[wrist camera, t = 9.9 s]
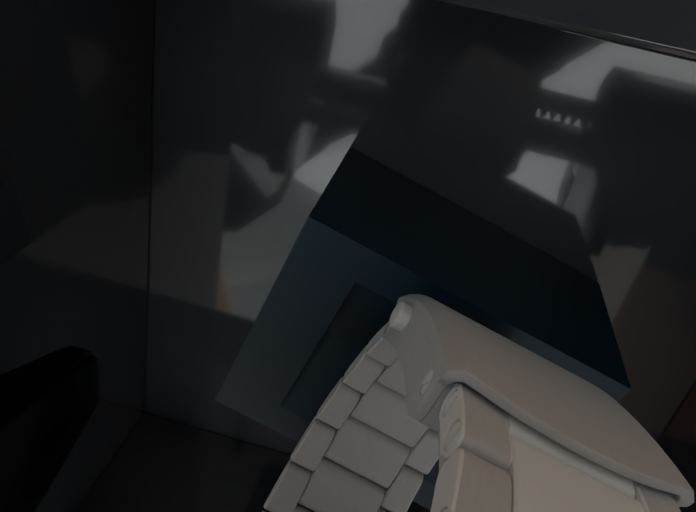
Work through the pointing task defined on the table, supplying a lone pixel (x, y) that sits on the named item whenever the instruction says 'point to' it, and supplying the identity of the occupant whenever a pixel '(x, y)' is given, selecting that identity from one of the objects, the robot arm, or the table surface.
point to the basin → (308, 185)
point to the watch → (440, 367)
